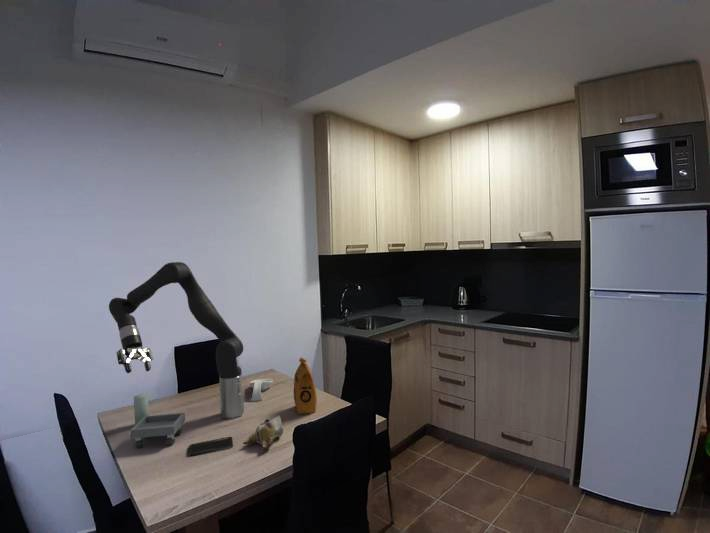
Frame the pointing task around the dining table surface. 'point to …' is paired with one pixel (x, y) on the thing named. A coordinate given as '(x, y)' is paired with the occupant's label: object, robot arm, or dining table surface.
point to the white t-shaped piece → (259, 388)
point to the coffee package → (304, 389)
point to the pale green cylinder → (140, 407)
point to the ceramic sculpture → (266, 433)
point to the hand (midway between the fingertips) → (139, 371)
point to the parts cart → (158, 427)
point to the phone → (210, 446)
